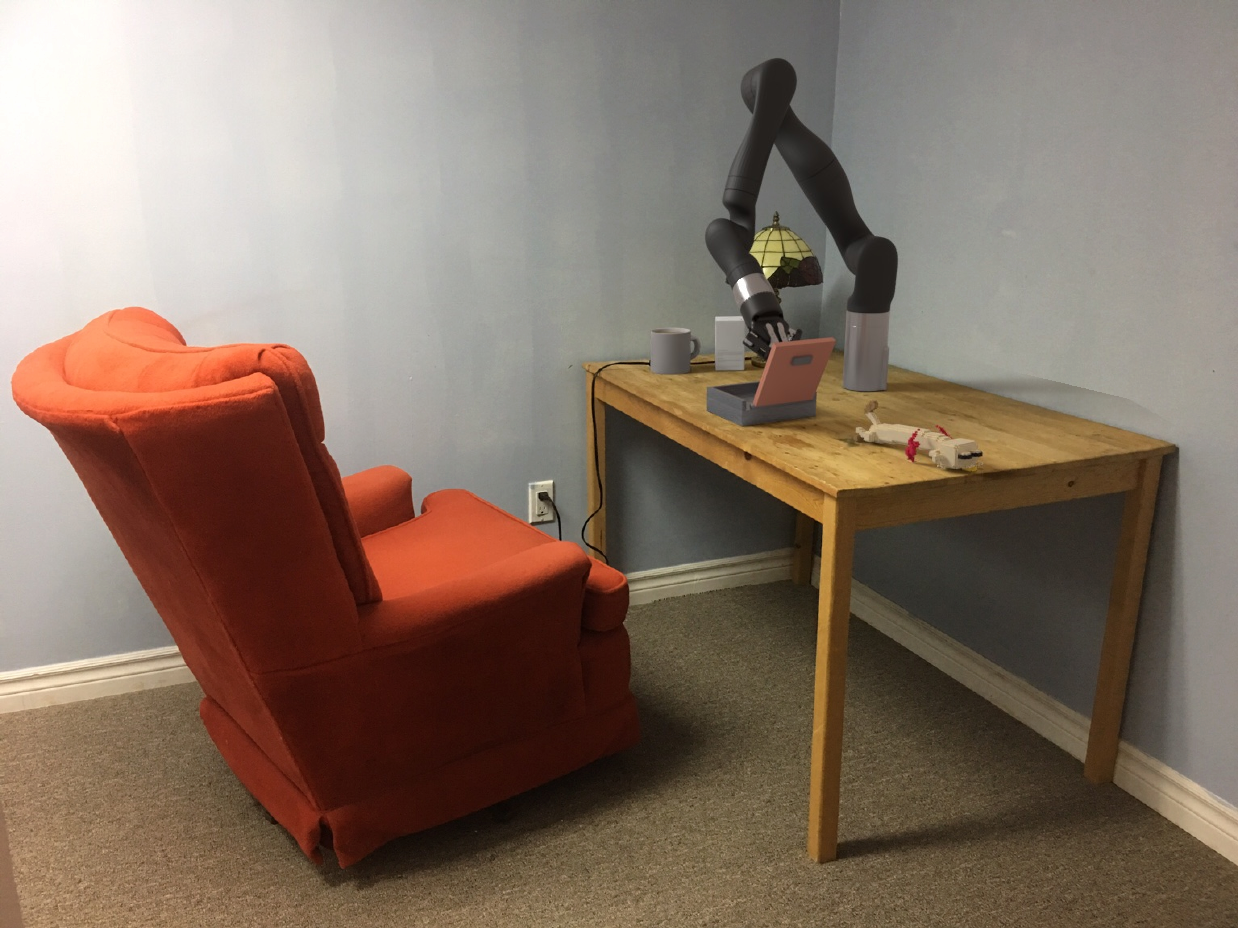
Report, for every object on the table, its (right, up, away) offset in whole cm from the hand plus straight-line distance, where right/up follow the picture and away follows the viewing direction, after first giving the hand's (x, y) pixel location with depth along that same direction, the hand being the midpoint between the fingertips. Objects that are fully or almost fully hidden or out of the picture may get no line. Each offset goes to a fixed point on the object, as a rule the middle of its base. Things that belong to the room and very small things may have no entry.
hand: (789, 374), depth 174 cm
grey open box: (-4, -7, +12) cm, 14 cm away
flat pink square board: (-1, -5, +4) cm, 6 cm away
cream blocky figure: (+18, -16, -18) cm, 30 cm away
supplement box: (-4, +7, +57) cm, 58 cm away
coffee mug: (-18, +6, +56) cm, 59 cm away
